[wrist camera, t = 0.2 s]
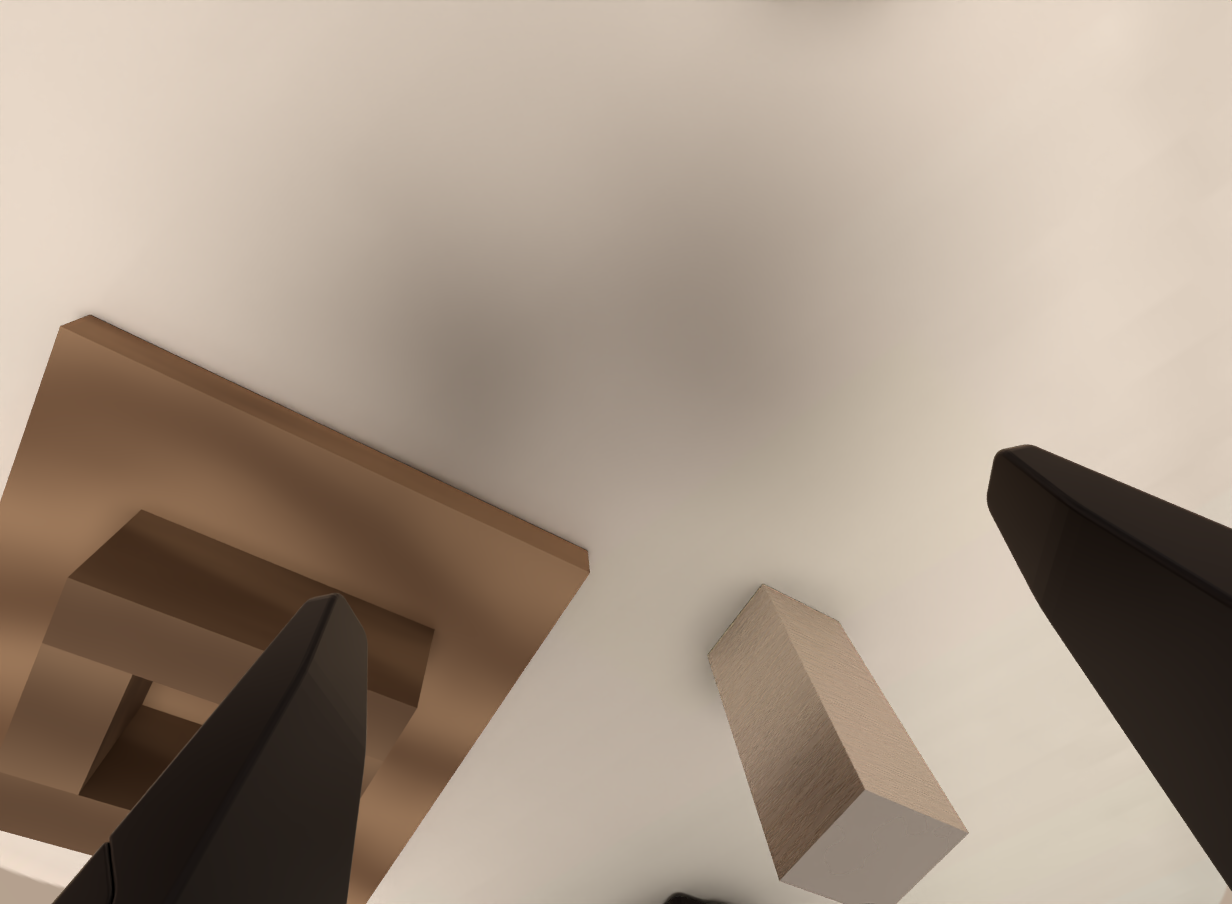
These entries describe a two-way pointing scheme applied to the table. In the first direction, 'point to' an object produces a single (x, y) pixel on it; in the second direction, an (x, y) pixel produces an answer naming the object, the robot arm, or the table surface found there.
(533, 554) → the socket block
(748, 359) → the table surface
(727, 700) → the steel peg
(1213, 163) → the table surface
